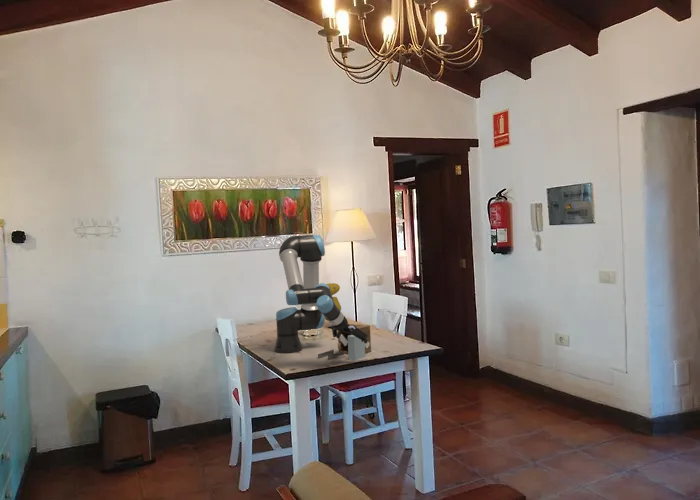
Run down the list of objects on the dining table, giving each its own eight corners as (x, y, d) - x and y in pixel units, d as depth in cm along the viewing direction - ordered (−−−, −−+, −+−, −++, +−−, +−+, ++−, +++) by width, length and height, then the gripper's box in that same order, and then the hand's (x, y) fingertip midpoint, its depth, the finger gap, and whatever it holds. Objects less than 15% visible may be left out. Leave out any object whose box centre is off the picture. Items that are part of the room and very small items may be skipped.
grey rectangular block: (348, 359, 289) (347, 336, 288) (359, 356, 296) (357, 333, 296) (355, 360, 286) (353, 336, 286) (365, 356, 294) (364, 333, 293)
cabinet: (318, 358, 296) (316, 331, 295) (345, 348, 315) (344, 323, 315) (344, 361, 286) (342, 333, 285) (371, 351, 305) (369, 325, 305)
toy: (318, 329, 380) (315, 284, 379) (321, 326, 392) (319, 282, 391) (341, 329, 378) (339, 283, 377) (344, 325, 391) (341, 282, 389)
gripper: (314, 324, 284) (334, 349, 296) (355, 327, 269) (374, 353, 281) (320, 312, 288) (340, 337, 300) (361, 315, 273) (380, 340, 285)
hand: (357, 344), depth 291 cm, fingers open, 13 cm apart
